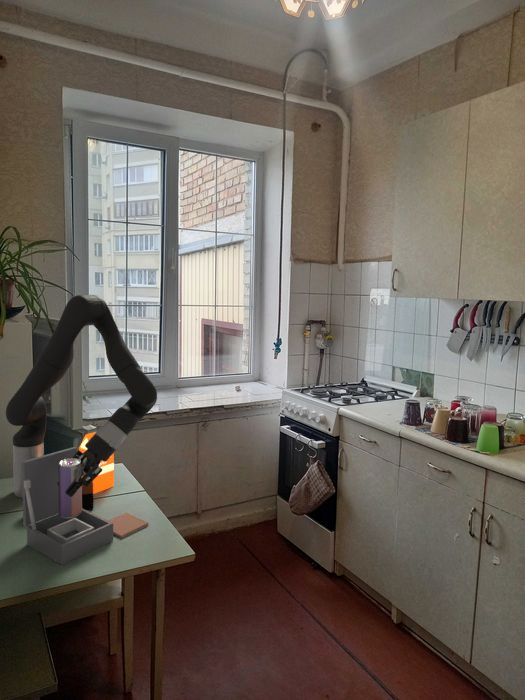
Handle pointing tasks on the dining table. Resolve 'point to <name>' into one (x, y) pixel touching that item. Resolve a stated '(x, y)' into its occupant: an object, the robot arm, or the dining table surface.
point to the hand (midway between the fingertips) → (64, 490)
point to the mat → (126, 524)
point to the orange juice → (107, 474)
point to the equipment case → (45, 503)
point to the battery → (87, 496)
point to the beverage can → (66, 477)
